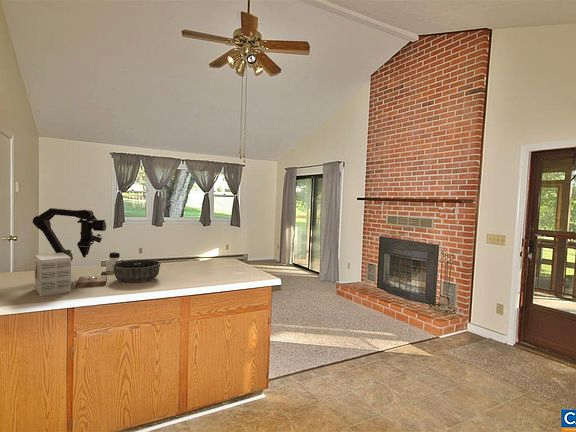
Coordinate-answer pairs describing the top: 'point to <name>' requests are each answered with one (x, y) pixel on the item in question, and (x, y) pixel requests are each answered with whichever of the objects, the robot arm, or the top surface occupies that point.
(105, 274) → the dark gray rubber ball
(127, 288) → the top surface
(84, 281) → the walnut board
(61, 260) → the supplement box
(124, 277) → the bundt pan
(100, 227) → the robot arm
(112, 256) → the medicine bottle
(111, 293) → the top surface
